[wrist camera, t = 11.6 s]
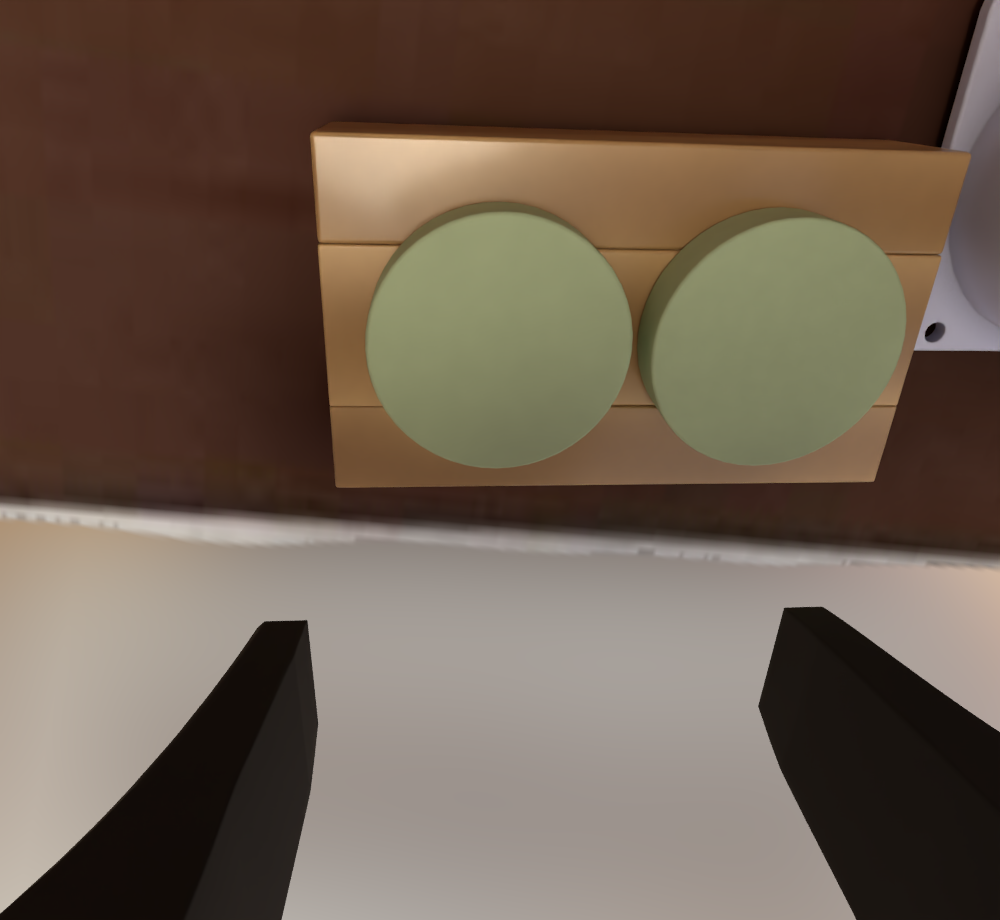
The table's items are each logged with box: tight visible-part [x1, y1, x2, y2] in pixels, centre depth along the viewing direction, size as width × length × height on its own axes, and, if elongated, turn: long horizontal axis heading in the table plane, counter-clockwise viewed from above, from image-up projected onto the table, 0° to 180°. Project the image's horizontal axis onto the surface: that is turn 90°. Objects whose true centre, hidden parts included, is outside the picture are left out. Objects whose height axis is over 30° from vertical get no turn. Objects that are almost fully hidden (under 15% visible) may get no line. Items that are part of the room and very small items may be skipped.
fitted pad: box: [637, 207, 906, 466], centre depth 17 cm, size 5×5×4 cm
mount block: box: [310, 121, 971, 488], centre depth 17 cm, size 7×13×3 cm, turn 88°
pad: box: [365, 202, 633, 468], centre depth 16 cm, size 5×5×4 cm
